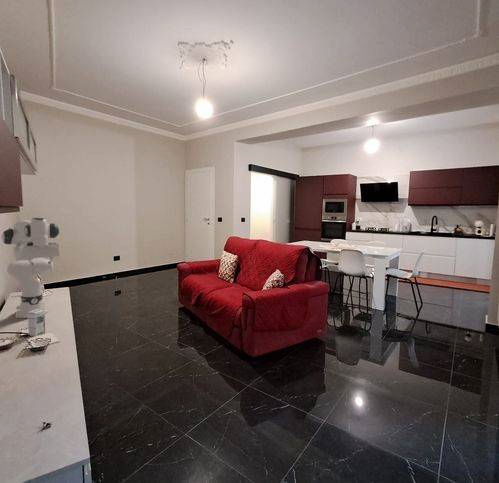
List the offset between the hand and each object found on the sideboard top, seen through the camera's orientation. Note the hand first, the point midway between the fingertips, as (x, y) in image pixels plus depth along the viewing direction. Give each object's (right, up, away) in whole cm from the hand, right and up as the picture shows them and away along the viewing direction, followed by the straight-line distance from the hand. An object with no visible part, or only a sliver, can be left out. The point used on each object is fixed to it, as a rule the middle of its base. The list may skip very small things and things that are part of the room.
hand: (41, 264), depth 186 cm
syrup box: (+7, -41, -13) cm, 43 cm away
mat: (+16, -42, -21) cm, 49 cm away
